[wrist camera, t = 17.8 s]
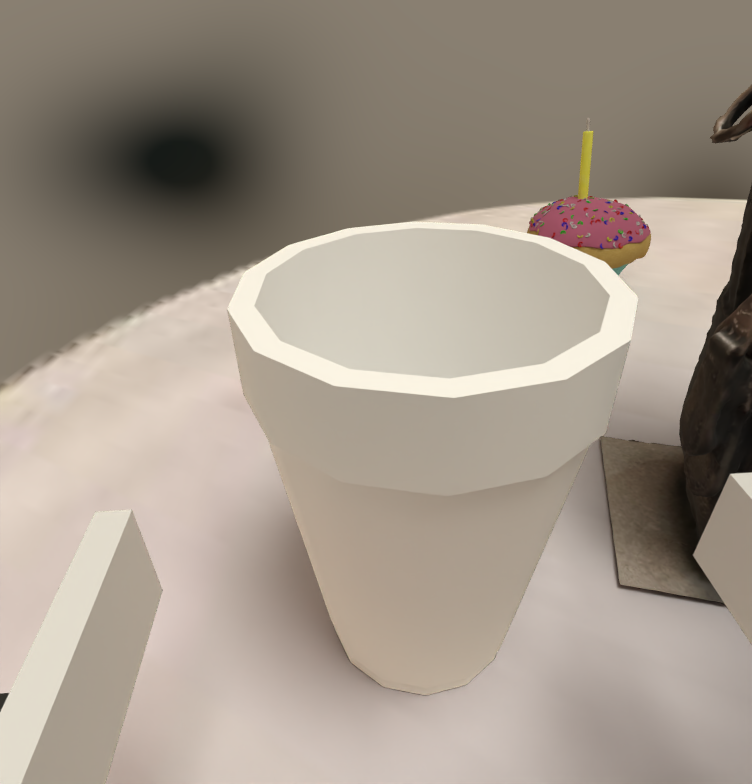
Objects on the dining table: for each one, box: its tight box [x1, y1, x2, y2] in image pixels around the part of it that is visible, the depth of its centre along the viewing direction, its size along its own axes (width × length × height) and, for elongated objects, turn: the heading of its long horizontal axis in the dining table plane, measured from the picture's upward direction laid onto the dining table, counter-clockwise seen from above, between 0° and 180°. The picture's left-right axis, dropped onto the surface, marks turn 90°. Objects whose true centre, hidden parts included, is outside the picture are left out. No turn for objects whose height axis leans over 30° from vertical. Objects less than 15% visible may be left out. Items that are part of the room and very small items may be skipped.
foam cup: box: [227, 222, 638, 695], centre depth 17 cm, size 10×9×13 cm
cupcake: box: [527, 118, 651, 275], centre depth 40 cm, size 9×8×12 cm
